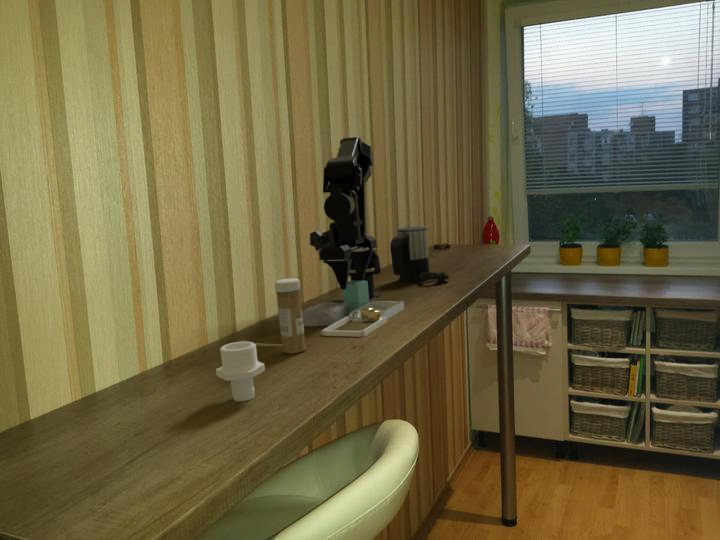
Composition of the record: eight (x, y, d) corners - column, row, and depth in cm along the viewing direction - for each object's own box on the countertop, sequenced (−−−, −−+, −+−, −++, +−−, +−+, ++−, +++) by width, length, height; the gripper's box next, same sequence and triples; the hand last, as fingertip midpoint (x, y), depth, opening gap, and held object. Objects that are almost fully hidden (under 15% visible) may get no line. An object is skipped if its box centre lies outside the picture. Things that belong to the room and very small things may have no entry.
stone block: (296, 338, 139) (340, 327, 136) (290, 316, 138) (333, 305, 136) (312, 326, 150) (352, 316, 148) (306, 306, 150) (347, 295, 148)
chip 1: (364, 314, 144) (363, 306, 144) (377, 315, 143) (376, 306, 143) (359, 318, 141) (358, 309, 141) (371, 318, 140) (371, 310, 140)
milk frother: (405, 276, 193) (401, 226, 191) (457, 275, 187) (454, 224, 185) (389, 286, 180) (385, 232, 178) (445, 285, 174) (441, 229, 172)
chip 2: (370, 317, 141) (369, 309, 141) (383, 317, 140) (382, 309, 140) (365, 320, 138) (364, 312, 138) (378, 320, 137) (377, 312, 137)
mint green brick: (354, 309, 153) (352, 280, 152) (369, 310, 150) (367, 280, 149) (344, 313, 149) (341, 283, 148) (360, 314, 147) (357, 284, 146)
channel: (371, 309, 151) (370, 301, 150) (404, 310, 147) (403, 301, 147) (349, 322, 140) (348, 313, 140) (384, 323, 137) (383, 313, 136)
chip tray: (347, 322, 140) (347, 316, 140) (387, 323, 137) (386, 316, 136) (321, 337, 129) (320, 330, 129) (363, 339, 125) (363, 331, 125)
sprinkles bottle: (310, 350, 120) (303, 279, 118) (287, 356, 118) (279, 283, 116) (300, 346, 124) (293, 276, 122) (278, 350, 122) (270, 280, 120)
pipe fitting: (234, 409, 93) (228, 355, 92) (214, 397, 99) (208, 346, 98) (274, 397, 97) (268, 345, 95) (252, 386, 102) (246, 337, 101)
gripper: (332, 214, 158) (338, 277, 160) (294, 223, 141) (301, 293, 143) (374, 212, 153) (380, 277, 156) (340, 220, 136) (347, 293, 139)
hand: (352, 285), depth 148 cm, fingers open, 9 cm apart
